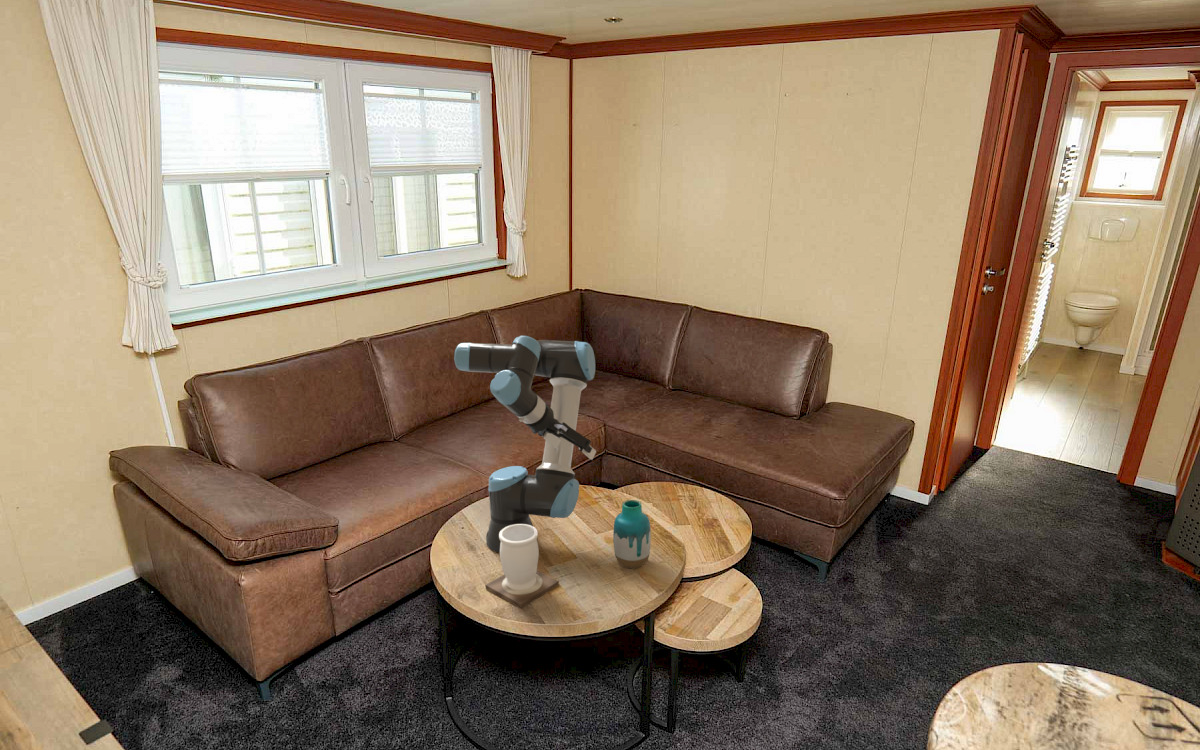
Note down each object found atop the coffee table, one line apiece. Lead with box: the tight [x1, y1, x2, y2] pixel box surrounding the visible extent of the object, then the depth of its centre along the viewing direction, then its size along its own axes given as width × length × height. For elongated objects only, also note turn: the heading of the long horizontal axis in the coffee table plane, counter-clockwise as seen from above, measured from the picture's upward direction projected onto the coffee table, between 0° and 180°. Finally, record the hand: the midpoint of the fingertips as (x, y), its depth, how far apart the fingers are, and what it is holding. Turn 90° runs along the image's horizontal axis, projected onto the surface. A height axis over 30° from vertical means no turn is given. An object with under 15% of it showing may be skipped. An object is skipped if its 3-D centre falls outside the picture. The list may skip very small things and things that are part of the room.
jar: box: [499, 524, 540, 590], centre depth 186 cm, size 11×10×15 cm
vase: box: [612, 499, 652, 569], centre depth 196 cm, size 11×11×19 cm
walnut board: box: [485, 570, 560, 609], centre depth 188 cm, size 14×14×1 cm
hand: (575, 449), depth 194 cm, fingers open, 13 cm apart
